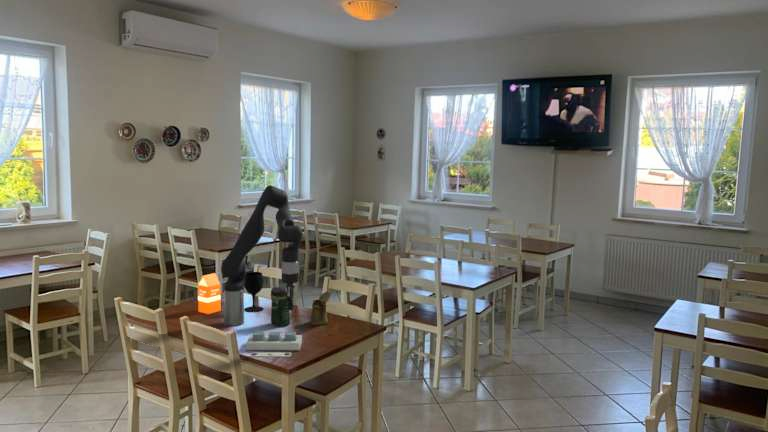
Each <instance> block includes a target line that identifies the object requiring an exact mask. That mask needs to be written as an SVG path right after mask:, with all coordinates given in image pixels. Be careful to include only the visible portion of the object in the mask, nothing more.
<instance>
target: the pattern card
mask: <svg viewBox="0 0 768 432" xmlns="http://www.w3.org/2000/svg"><path fill="white" fill-rule="evenodd" d="M291 356H292V352H286V351H274V352H273V351H251V353H250V354H249V357H250V358H256V357H257V358H261V357H262V358H268V357H269V358H273V357H274V358H280V357H281V358H290V357H291Z"/></svg>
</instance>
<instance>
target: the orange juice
mask: <svg viewBox="0 0 768 432" xmlns="http://www.w3.org/2000/svg"><path fill="white" fill-rule="evenodd" d="M197 301H198V302H197V303H198V304H197V305H198V306H197V308H198V313H202V314H206V315H210V314H212V313H216V312H221V311H222V309H221V308H222V307H221V303H222V299H221V283H220V281H219V279H218V276H217V274H216V272H213V273H209V274H205V275H202V276H201V277H200V280H199V282H198V284H197Z"/></svg>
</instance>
